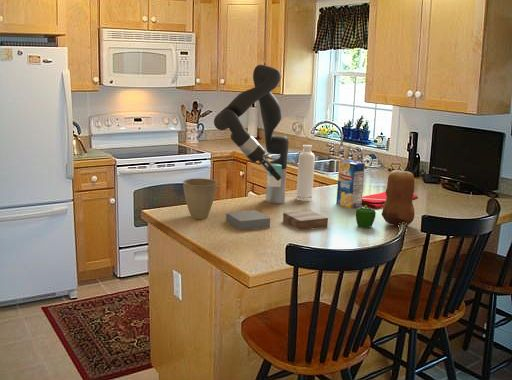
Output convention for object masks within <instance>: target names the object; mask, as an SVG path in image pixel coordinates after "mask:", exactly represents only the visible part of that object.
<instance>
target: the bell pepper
mask: <svg viewBox="0 0 512 380" xmlns="http://www.w3.org/2000/svg"><path fill="white" fill-rule="evenodd" d="M376 213H377V212H376V209H372V208H368V207H367V205H365V206H361V207H358V208H356V211H355V221H356V224H357V226H358V227H360V228H363V229H368V228H370V227H372V226H373V224H374V222H375V218H376Z"/></svg>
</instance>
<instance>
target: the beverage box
mask: <svg viewBox="0 0 512 380" xmlns="http://www.w3.org/2000/svg"><path fill="white" fill-rule="evenodd" d="M338 165H339V166H338V176H337V177H338V179H337V190H336V191H337V192H336V204H337V205H340V206H343V207H345V208H349V209H359V208H361V207H362V206H361V205H362V197H363V191H364V181H365V168H366V166H365V165H366V163H365V162H361V161H357V160H352V159H345V160H339V163H338Z"/></svg>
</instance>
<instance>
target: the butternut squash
mask: <svg viewBox="0 0 512 380" xmlns="http://www.w3.org/2000/svg"><path fill="white" fill-rule="evenodd" d="M385 192H386V195H387V198H386V201H385V203H384V205H383V208H382V212H381V217H382V218H383V220H384V221H385V222H386V223H387V224H389V225H391V226H394V227H396V228H399V227H398V225H399V223H402V222H405V223H407V225H406V226H408V225H410V224H411V223H413V222H414V219H415V207H414V204H413V200H412V197H413V194H414V193H415V176H414V173H412V172H410V171H405V170H402V169H401V170H400V169H393V170H392V171H390V172H389V174H388V177H387V184H386V189H385Z"/></svg>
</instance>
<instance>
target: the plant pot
mask: <svg viewBox="0 0 512 380" xmlns="http://www.w3.org/2000/svg"><path fill="white" fill-rule="evenodd" d="M217 184H218V181H216V180H215V179H210V178H201V177H198V178H195V177H194V178H188V179H184V180H183V181H182V187H183V193H184V198H185V202H186V206H187V209H188V212H189V215H190V217H191V218H192V219H194V220H195V219H197V220H203V219H206V218H208V217H209V215H210V212H211V209H212V207H213V203H214V199H215V196H216V191H217Z"/></svg>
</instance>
